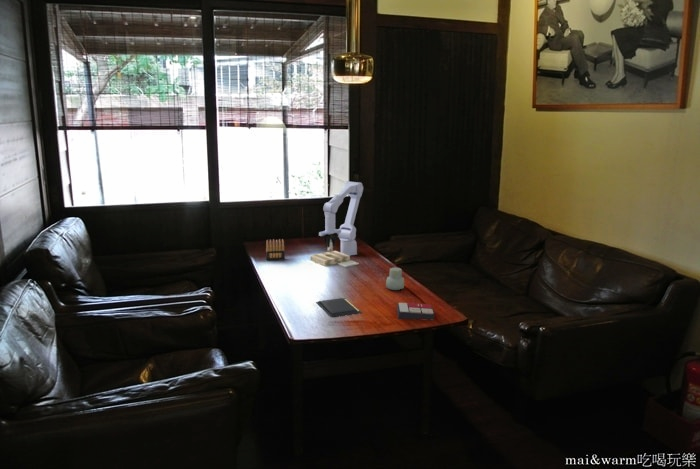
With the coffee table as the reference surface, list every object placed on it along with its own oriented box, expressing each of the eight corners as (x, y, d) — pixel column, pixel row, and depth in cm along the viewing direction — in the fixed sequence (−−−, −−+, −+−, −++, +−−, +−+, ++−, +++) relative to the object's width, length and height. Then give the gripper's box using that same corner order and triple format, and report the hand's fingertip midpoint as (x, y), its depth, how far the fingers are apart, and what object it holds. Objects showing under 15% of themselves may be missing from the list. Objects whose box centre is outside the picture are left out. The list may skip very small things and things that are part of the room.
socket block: (335, 255, 320) (335, 250, 319) (349, 260, 309) (349, 255, 309) (310, 260, 309) (310, 255, 308) (324, 266, 298) (324, 260, 298)
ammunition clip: (284, 258, 312) (284, 238, 310) (284, 259, 311) (284, 239, 308) (265, 259, 310) (265, 239, 308) (266, 260, 309) (265, 239, 306)
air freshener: (402, 292, 257) (403, 272, 255) (385, 291, 259) (386, 271, 256) (404, 285, 268) (405, 266, 265) (388, 284, 269) (388, 265, 267)
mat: (351, 261, 308) (351, 260, 308) (359, 264, 303) (359, 263, 303) (337, 264, 302) (337, 263, 302) (345, 267, 297) (345, 266, 297)
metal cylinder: (330, 249, 310) (330, 237, 308) (333, 250, 308) (333, 238, 306) (326, 250, 308) (326, 238, 306) (329, 251, 306) (329, 239, 304)
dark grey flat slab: (315, 299, 243) (346, 295, 249) (315, 303, 244) (346, 299, 249) (329, 315, 225) (363, 310, 230) (329, 319, 226) (363, 314, 231)
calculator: (434, 313, 224) (399, 310, 224) (433, 322, 225) (398, 320, 225) (431, 303, 234) (397, 301, 234) (430, 312, 235) (396, 310, 235)
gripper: (336, 220, 311) (336, 243, 315) (315, 223, 303) (315, 246, 306) (343, 222, 306) (343, 245, 309) (323, 225, 297) (323, 249, 300)
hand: (330, 246), depth 307 cm, fingers closed on metal cylinder, 3 cm apart
